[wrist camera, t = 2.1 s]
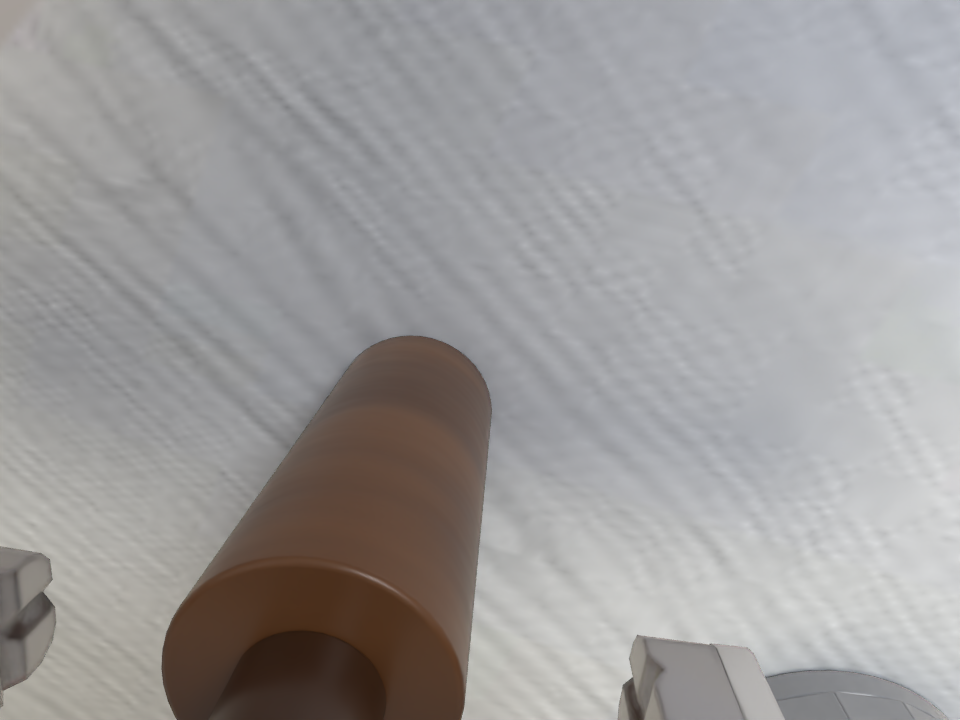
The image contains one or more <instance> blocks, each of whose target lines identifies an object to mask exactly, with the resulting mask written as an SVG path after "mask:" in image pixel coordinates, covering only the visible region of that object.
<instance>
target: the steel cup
mask: <svg viewBox="0 0 960 720" xmlns="http://www.w3.org/2000/svg"><path fill="white" fill-rule="evenodd" d="M766 680H767V682H768V684H769V687H770V689H771V691H772V693H773V695H774V697H775V699H776V701H777V703H778V706H779V708H780V710H781V712H782V714H783V716H784V718H785V720H948V718H947V717H946V716H945V715H944V714H943V713H942V712H941V711H940V710H938V709H937V708H936V707H935V706H934V705H933V704H931V703H930V702H929V701H927V700H926V699H924V698H922V697H921V696H919V695H918V694H916V693H914V692H913V691H911V690H909V689H907V688H904V687H902V686H900V685H898V684H896V683H893V682H890V681H887V680H884V679H881V678H878V677H874V676H870V675H864V674H859V673H854V672H844V671H832V670H825V671H803V672H794V673H786V674H782V675H777V676H773V677H768V678H766Z"/></svg>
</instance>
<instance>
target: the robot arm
mask: <svg viewBox="0 0 960 720" xmlns="http://www.w3.org/2000/svg"><path fill="white" fill-rule="evenodd" d="M52 580H53V579H52V572H51V564H50V559H49V558H47V557H46V556H44V555H43V554H41V553H38V552H32V551H25V550H19V549H13V548H7V547H1V546H0V708H1V707H2V706H3V691H4V690H6V689H8V688H10V687H12V686H14V685H16V684H18V683H20V682H22V681H24V680H26V679H28V677H29V676H30V675H31V674H32V673H33V672H34V671H35V669H36V668H37V667H38V666H39V665H40V664H41V662H42V661H43V659H44V657H45V655H46V653H47V651H48V649H49V647H50V645H51V643H52V641H53V636H54V631H55V625H56V614H55V606H54V605H53V604H52V603H51V601H50V600H49V599H48V598H47V596H46V595H45V594H44V593H43V591H44V590H45V588H46V587H47V586H48V585H49V583H50V582H51V581H52ZM629 661H630V665H631V670H632V675H633V677H632V678H631V679H630V680H629V681H627V682H626V683H625V684H624V685H623V687H622V692H621V697H620V702H619V709H618V720H785V718H784V716H783V714H782V712H781V710H780V708H779V706H778V703H777V701H776V699H775V697H774V695H773V693H772V691H771V689H770V687H769V684H768V682H767V680H766V678H765V676H764V674H763V672H762V670H761V668H760V665H759V663H758V661H757V659H756V657H755V655H754V653H753V652H752V651H751V650H750V649H748V648H747V647H738V646H729V645H720V644H710V645H708V644H702V643H694V642H687V641H679V640H672V639H664V638H656V637H649V636H641V635H637V637H636V639H635V640H634V642H633V645H632V649H631V653H630V657H629Z"/></svg>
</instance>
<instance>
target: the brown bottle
mask: <svg viewBox="0 0 960 720" xmlns="http://www.w3.org/2000/svg"><path fill="white" fill-rule="evenodd" d="M491 414H492V408H491V399H490V395H489V391H488V388H487V385H486V383H485V381H484V379H483V377H482V375H481V374H480V372H479V371H478V369H477V368H476V366H475V365H474V364H473V363H472V362H471V361H470V360H469V359H468V358H467V357H466V356H465V355H463V354H462V353H461V352H460V351H458V350H456V349H455V348H453V347H452V346H450V345H448V344H446V343H443V342H441V341H438V340H435V339H432V338H427V337H422V336H400V337H395V338H390V339H387V340H384V341H381V342H379V343H377V344H375V345H373V346H371V347H370V348H368V349H366V350H365V351H364V352H362V353H361V354H360V355H359V356H358V357H357V358H356V359H355V360H354V361H353V363H352V364H351V365H350V366H349V368H348V369H347V371H346V372H345V373H344V375H343V376H342V378H341V379H340V380H339V382H338V383H337V385H336V386H335V388H334V389H333V390H332V392H331V393H330V395H329V396H328V397H327V399H326V400H325V402H324V403H323V405H322V406H321V407H320V409H319V410H318V412H317V413H316V414H315V416H314V417H313V419H312V420H311V421H310V423H309V424H308V426H307V427H306V429H305V430H304V431H303V433H302V434H301V436H300V437H299V438H298V440H297V441H296V443H295V444H294V445H293V447H292V448H291V450H290V451H289V453H288V454H287V455H286V457H285V458H284V460H283V461H282V462H281V464H280V465H279V467H278V468H277V470H276V471H275V472H274V474H273V475H272V477H271V478H270V479H269V481H268V482H267V484H266V485H265V486H264V488H263V489H262V491H261V492H260V494H259V495H258V496H257V498H256V499H255V501H254V502H253V503H252V505H251V506H250V508H249V509H248V510H247V512H246V513H245V515H244V516H243V518H242V519H241V520H240V522H239V523H238V525H237V526H236V527H235V529H234V530H233V532H232V533H231V535H230V536H229V537H228V539H227V540H226V542H225V543H224V544H223V546H222V547H221V549H220V550H219V551H218V553H217V554H216V556H215V557H214V559H213V560H212V561H211V563H210V564H209V566H208V567H207V568H206V570H205V571H204V573H203V574H202V576H201V577H200V578H199V580H198V581H197V583H196V584H195V585H194V587H193V588H192V590H191V591H190V592H189V594H188V595H187V597H186V598H185V600H184V601H183V602H182V604H181V605H180V607H179V608H178V610H177V612H176V613H175V615H174V617H173V618H172V620H171V623H170V625H169V628H168V630H167V633H166V637H165V641H164V646H163V652H162V676H163V685H164V688H165V692H166V696H167V699H168V702H169V704H170V706H171V709H172V711H173V713H174V715H175V717H176V719H177V720H461V718H462V714H463V710H464V704H465V693H466V682H467V672H468V661H469V650H470V640H471V629H472V618H473V607H474V597H475V586H476V575H477V565H478V554H479V543H480V533H481V522H482V511H483V501H484V490H485V479H486V469H487V458H488V447H489V437H490V426H491Z"/></svg>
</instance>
